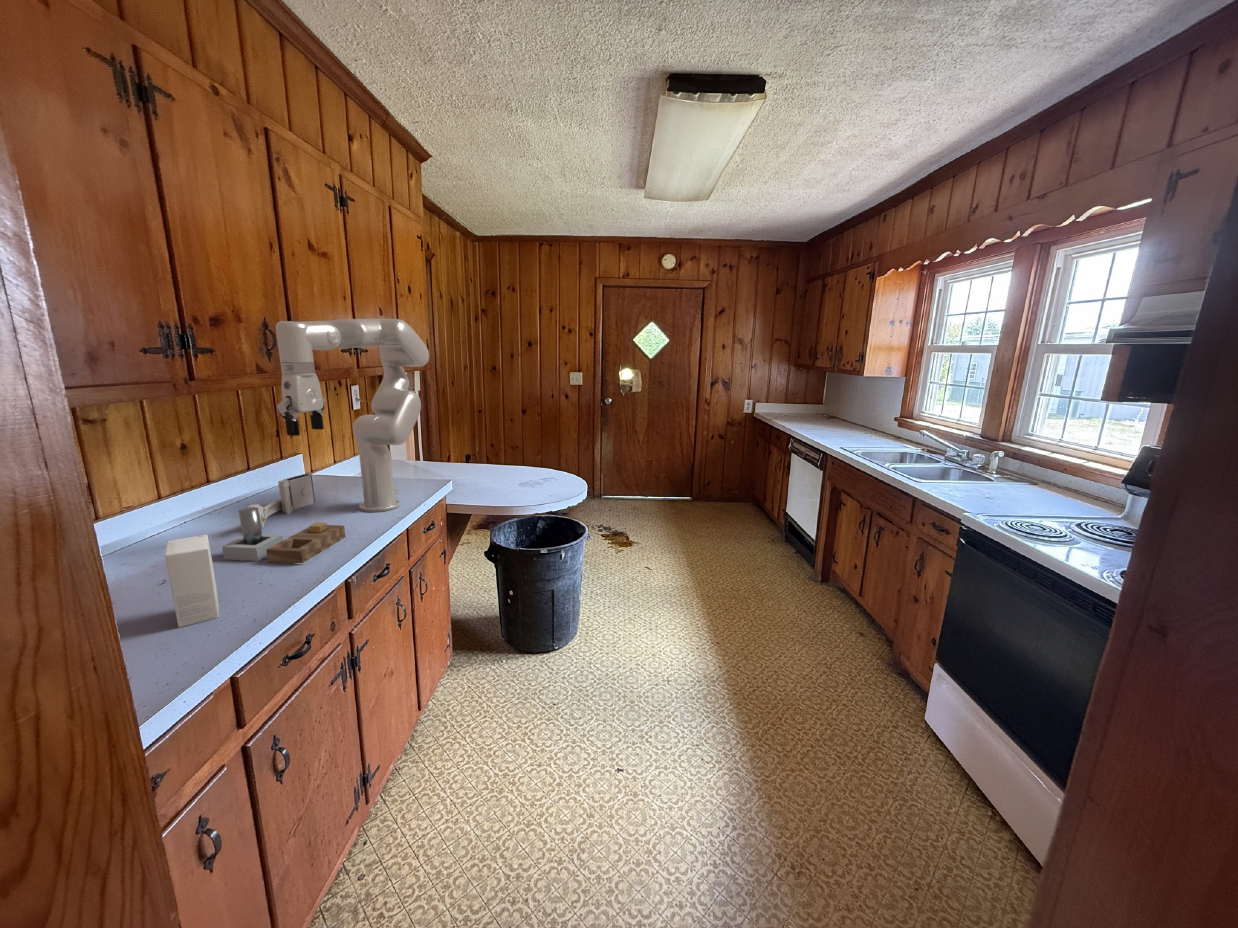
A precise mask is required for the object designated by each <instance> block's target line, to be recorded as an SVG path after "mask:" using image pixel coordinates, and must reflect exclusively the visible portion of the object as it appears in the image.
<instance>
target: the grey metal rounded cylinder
mask: <svg viewBox="0 0 1238 928" xmlns="http://www.w3.org/2000/svg"><path fill="white" fill-rule="evenodd" d="M248 507H249V506H248ZM248 507H244V508H241V509H239V510H238V514H239V521H240V527H241V532H242V537H243V540H244V545H257V544H259V543H260V542H262V541H263V537H262V534H263V531H262V529H261V524H260V517H259V511H258V508H257V507H249V508H248Z"/></svg>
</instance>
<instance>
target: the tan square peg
mask: <svg viewBox="0 0 1238 928" xmlns="http://www.w3.org/2000/svg"><path fill="white" fill-rule="evenodd" d="M327 525H328V523H327V522H322V521H321V522H319V521H317V522H314V523H312V524H310V525H309V526H308V527H309V529H310V533H320V534H321V533H323V532H325V531H326V530H328V529H327Z"/></svg>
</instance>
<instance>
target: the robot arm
mask: <svg viewBox="0 0 1238 928" xmlns="http://www.w3.org/2000/svg"><path fill="white" fill-rule="evenodd" d="M275 333H276V339H277V346H278V347H277V348H278V355H279V361H280V368H281V384H280V385H281V399H282V401H280V402H279V403H278V404H277V405H276V408H277V411H279V415H280V416H281V417H282V419H283V421H284V422H285V429H286V435H288V436H290V437H291V436H295V437H298V436H301V430H300V424H299V423H300V422H299V420H297V419H298V416H299V414H300V413H301V414H303V413H304V414H305V413H310V414H311V415H309V417H310V425H311V430H324V429H325V427H324V418H323V415H324V410H325V403H326V399H325V398H324V397H323V394H322V389H321V384H320V380H319V378H318V375H317V374H316V370H315V361H314V352H313V351H314V350H315V351H331V350H334V349H336V348H339V349H340V348H343V349H352V348H353V349H355V348H356V349H357V348H358V349H359V348H367V347H368V348H369V347H376V346H377V347H378V346H380V348H379V358H380V361H381V364H382V368H383V378H382V381H381V383H380V384H379V386H378V388H377V390H376V392H375V394H374V396H373V398H372V401H371V403H370V404H371V405H370V406H371V411H372V412H373V413H374V414H363V415H361V416H358V417H357V418H356V419H355V421H354V422H353V425H352V431H353V435H354V440H355V442H356V445H357V448H358V455H359V464H360V465H359V466H360V476H361V485H362V495H363V501H362V502H360V504H359V505H358V508H359V510H360V511H362V512H367V513H377V512H378V513H379V512H380V513H381V512H386V511H390V510H394V509H397V508H398V507H400V505H401V500H400V499H398V498H396V495H397V494H400V490H399V489H398V488H397V487H395V484H394V472H393V461H392V453H391V451H390V449H389V447H388V446H401V445H403V444H405V443H406V442H407V441H408V439H409V438H410V436H411V433H412V431H413V429H414V427H415V425H416V423H417V421H418V418H419V416H420V413H421V409H422V402H421V398H420V396H419V395H418V393H416V392H415V391H414V390H413V391H412V390H409V387H410V380H409V378H408V375H407V373H406V372H405V369H404V367H410V368H422V367H424V366H426V365H427V364H428V362H429V360H430V352H429V350H428V346H427V345H426V344H425V342H424V341H423V340H422V339H421V338H420V336H419V335H418V334H417V332H416V331H415V330H414V329H413V328H412V327H411V326H410V325H409V324H408V323H407V322H406V321H405V320H403V319H398V318H349V319H348V318H347V319H346V318H345V319H335V320H334V319H333V320H317V321H316V320H311V321H308V320H307V321H292V320H289V321H288V320H287V321H285V320H283V321H282V320H281V321H278V322H276V324H275Z"/></svg>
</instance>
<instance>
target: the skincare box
mask: <svg viewBox="0 0 1238 928" xmlns="http://www.w3.org/2000/svg"><path fill="white" fill-rule="evenodd" d="M210 547H211V546H210V540H209V538H208V534H203V535H196V536H191V537H185V538H184V537H183V538H179V539H178V538H177V539H172V540H168V541H167V542H166V547H165V552H164V556H165V562H166V566H167V571H168V572H167V573H168V577H169V583H170V589H171V594H172V599H173V605H174V612H175V616H176V622H177V626H178V628H182V627H183V628H184V627H188V626H191V625H195V624H199V623H203V622H208V621H210V620H211V621H212V620H216V619H219V617H220V611H219V610H220V609H219V608H220V607H219V605H220V604H219V597H218V589H217V583H216V576H215V570H214V563H213V559H212V558H213V557H212V551H211V548H210Z"/></svg>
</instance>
